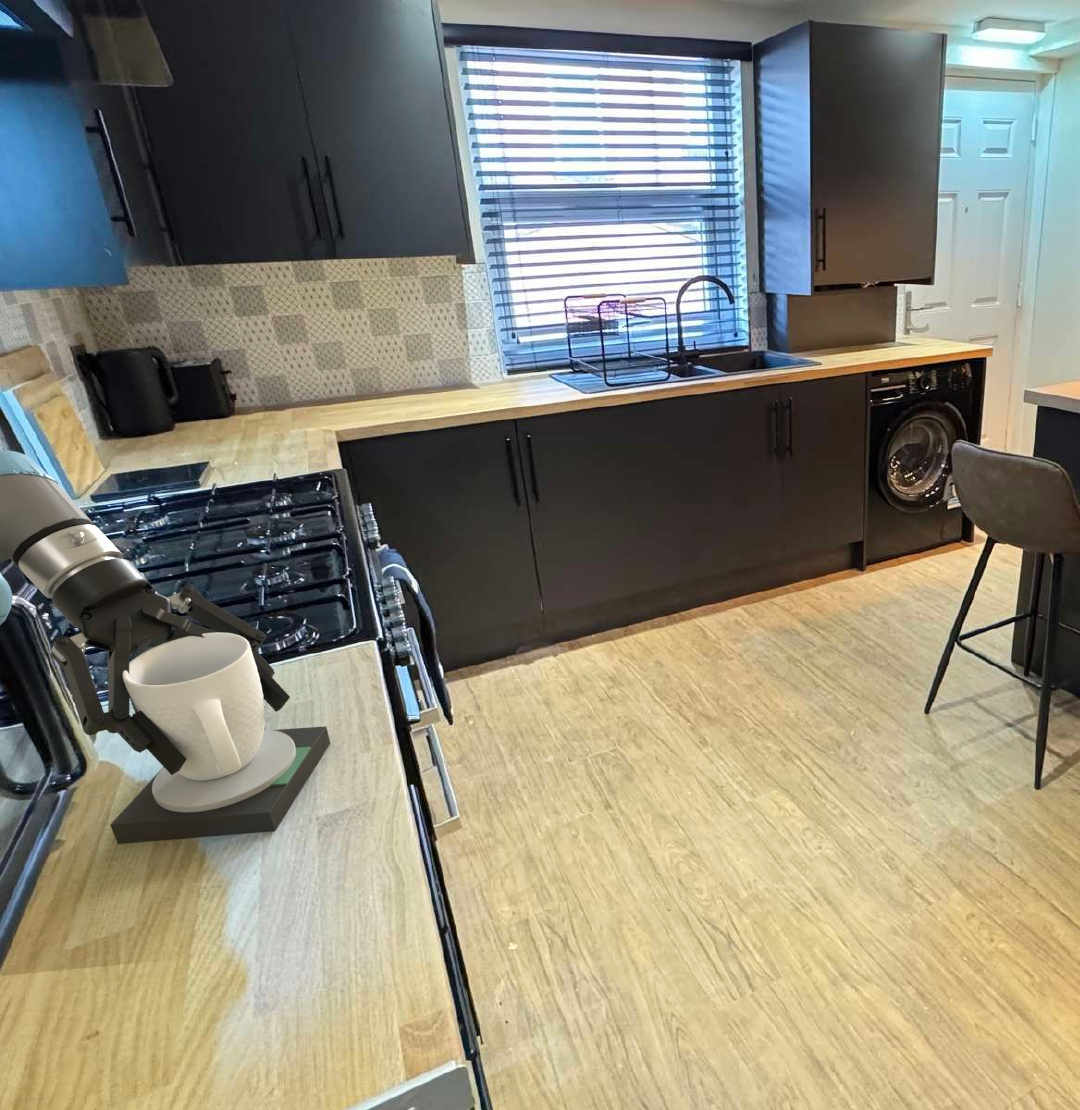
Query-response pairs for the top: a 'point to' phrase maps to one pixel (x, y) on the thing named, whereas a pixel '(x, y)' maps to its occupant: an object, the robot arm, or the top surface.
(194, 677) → the mug
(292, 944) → the top surface
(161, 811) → the scale
